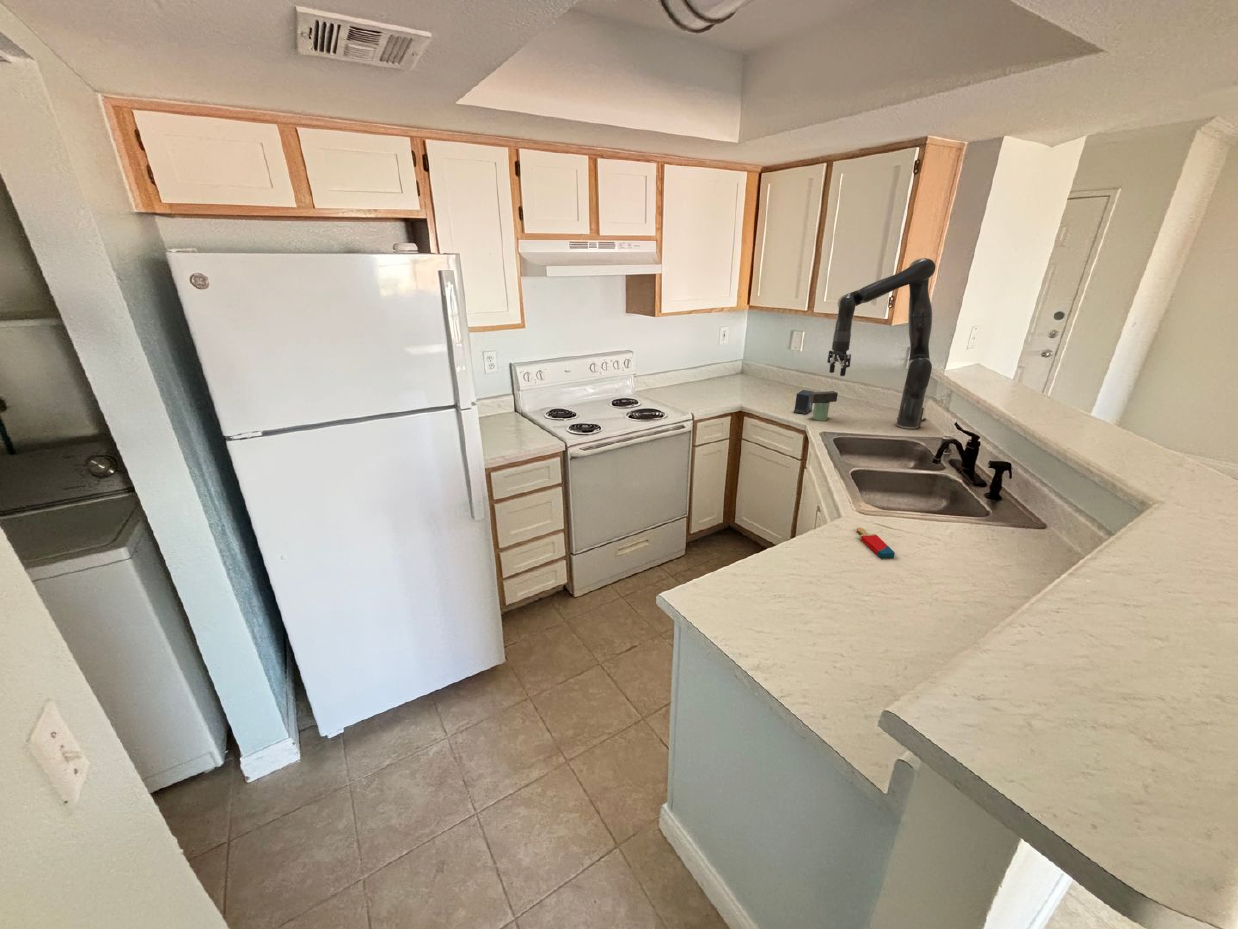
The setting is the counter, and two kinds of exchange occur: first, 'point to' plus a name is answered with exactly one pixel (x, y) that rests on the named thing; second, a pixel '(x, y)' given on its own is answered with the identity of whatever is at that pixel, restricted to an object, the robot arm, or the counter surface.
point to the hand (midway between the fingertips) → (836, 374)
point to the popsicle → (876, 544)
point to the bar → (823, 397)
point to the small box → (803, 402)
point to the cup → (821, 411)
